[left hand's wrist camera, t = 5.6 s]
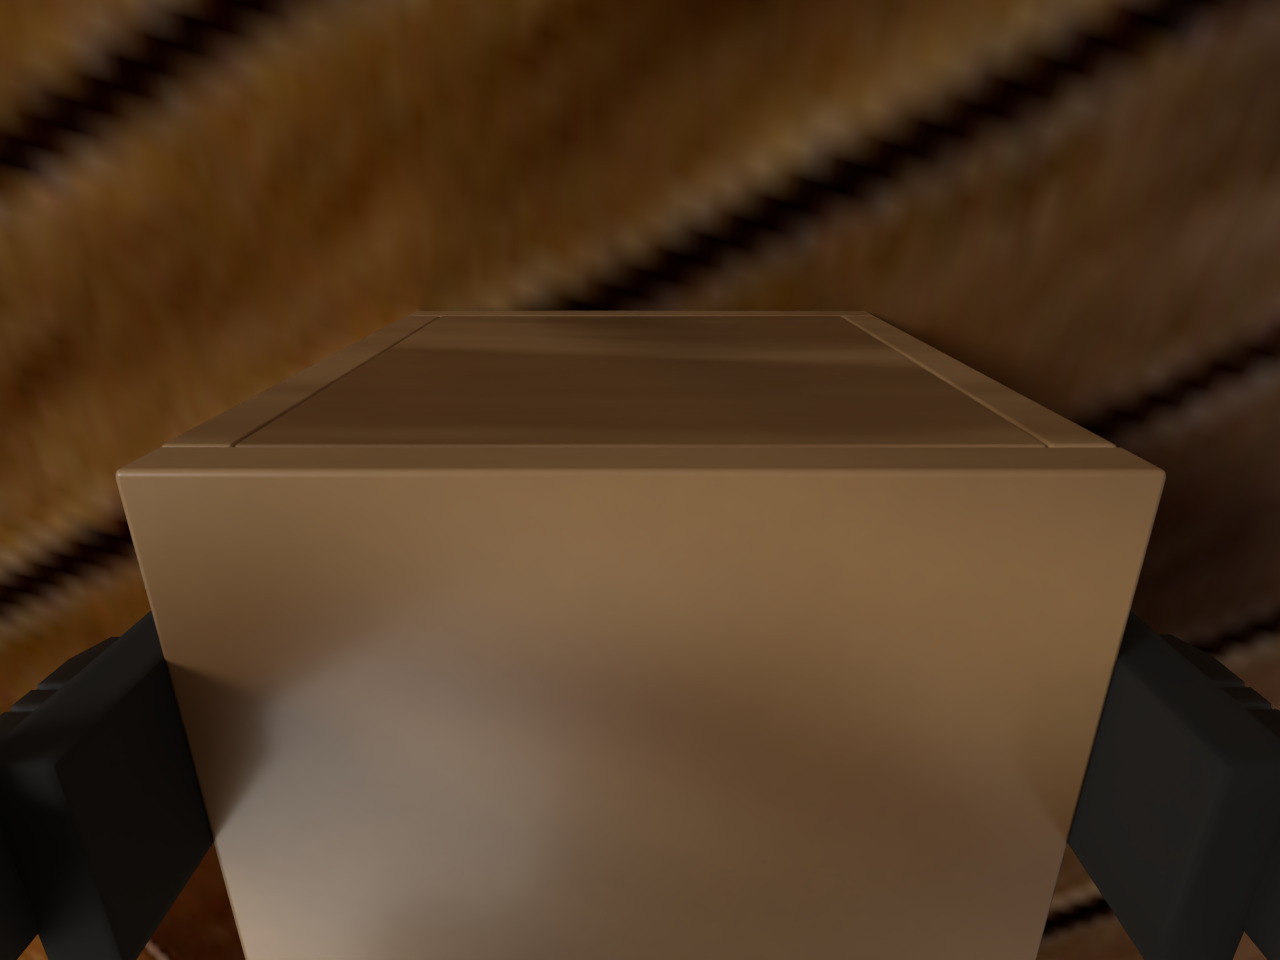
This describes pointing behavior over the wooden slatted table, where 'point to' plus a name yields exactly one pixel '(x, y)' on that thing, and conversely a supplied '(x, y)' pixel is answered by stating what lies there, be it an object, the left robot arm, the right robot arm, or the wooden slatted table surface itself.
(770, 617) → the cabinet
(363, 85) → the wooden slatted table surface
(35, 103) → the wooden slatted table surface
